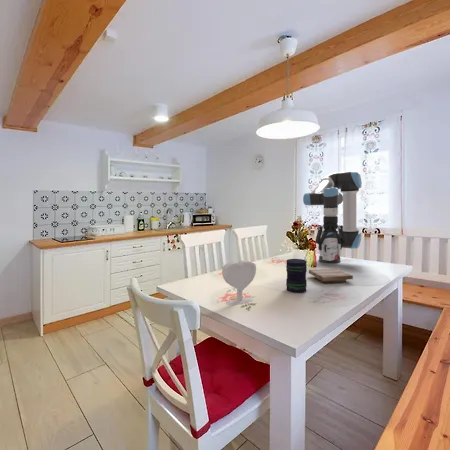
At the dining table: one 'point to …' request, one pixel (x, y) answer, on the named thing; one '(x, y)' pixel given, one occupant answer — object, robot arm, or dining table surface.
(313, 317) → the dining table surface
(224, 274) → the heart sculpture
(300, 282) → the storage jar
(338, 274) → the walnut stand
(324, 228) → the robot arm
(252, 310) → the dining table surface
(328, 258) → the ink box
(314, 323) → the dining table surface
